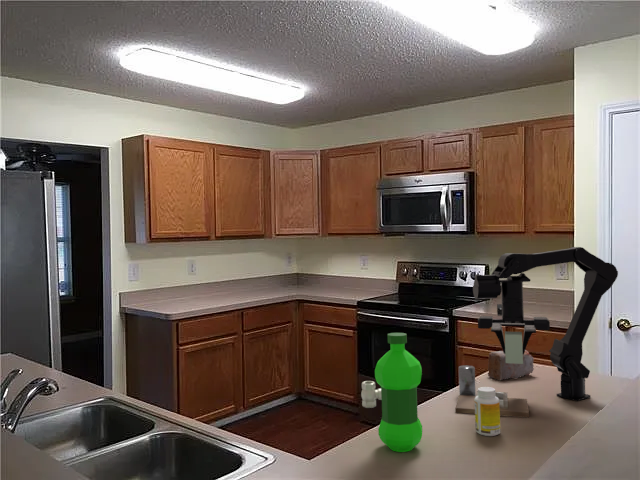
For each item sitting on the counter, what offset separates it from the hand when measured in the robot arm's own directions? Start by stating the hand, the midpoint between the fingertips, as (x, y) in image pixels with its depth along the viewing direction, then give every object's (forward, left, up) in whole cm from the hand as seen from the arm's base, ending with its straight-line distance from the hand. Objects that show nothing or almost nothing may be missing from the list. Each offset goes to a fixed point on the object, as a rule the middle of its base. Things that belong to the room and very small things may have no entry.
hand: (513, 353), depth 153 cm
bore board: (+11, +2, -13) cm, 17 cm away
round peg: (+7, -11, -13) cm, 18 cm away
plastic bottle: (+48, +9, -13) cm, 51 cm away
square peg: (0, 0, -2) cm, 2 cm away
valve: (+33, -18, -13) cm, 39 cm away
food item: (-19, -17, -13) cm, 28 cm away
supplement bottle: (+26, +14, -13) cm, 32 cm away
